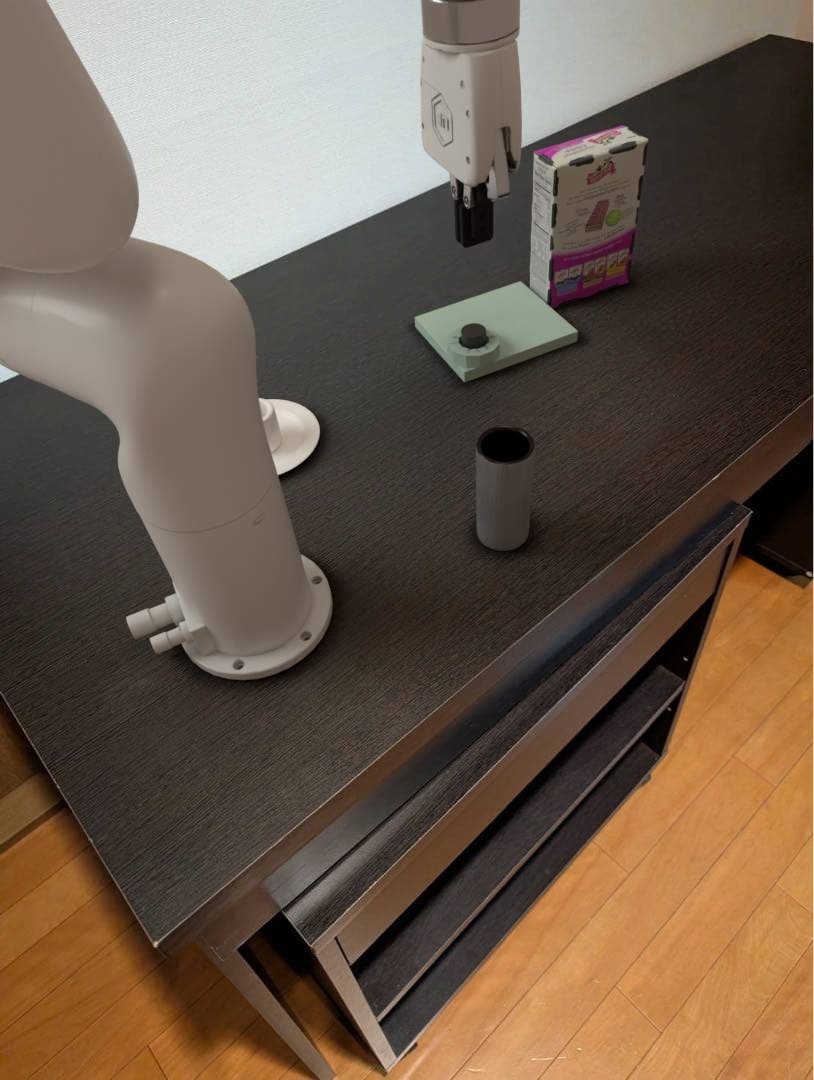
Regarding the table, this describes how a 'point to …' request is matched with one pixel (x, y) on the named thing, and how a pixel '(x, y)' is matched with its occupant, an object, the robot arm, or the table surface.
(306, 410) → the candle holder
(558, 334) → the pale green base plate
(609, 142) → the candy bar box
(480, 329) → the button
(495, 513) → the planter
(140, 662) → the table surface
